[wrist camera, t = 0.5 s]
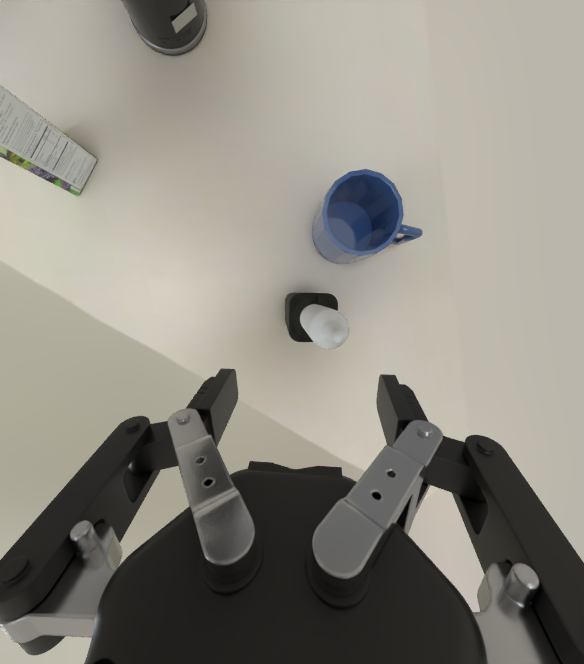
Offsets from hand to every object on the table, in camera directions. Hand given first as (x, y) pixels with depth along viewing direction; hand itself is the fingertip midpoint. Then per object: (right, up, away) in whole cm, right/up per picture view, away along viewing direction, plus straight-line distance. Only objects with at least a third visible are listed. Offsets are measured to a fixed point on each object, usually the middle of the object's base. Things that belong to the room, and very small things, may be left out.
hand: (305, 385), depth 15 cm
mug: (+8, +17, +25) cm, 31 cm away
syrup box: (-30, +25, +21) cm, 45 cm away
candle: (+1, +6, +26) cm, 27 cm away
